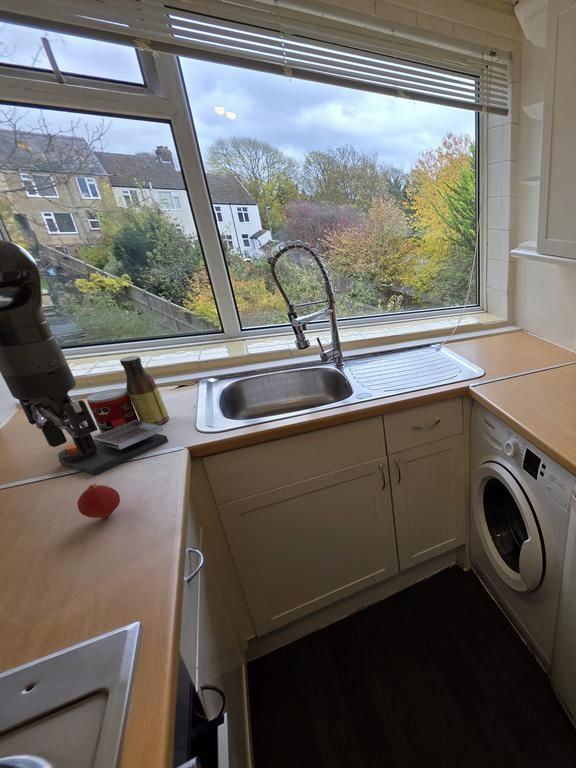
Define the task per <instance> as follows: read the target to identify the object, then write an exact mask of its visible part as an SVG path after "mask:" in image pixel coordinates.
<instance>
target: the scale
mask: <svg viewBox="0 0 576 768" xmlns="http://www.w3.org/2000/svg"><path fill="white" fill-rule="evenodd" d="M166 443H169V439H168V437H167V435H165V434H160V433H157V434H155V435H152V436H150V437H148V438H145V439H143V440H141V441H139V442H136V443H134V444H132V445H130V446H127V447H125V448H123V449H120V450H119V449H115V448H111V447H108V446H104V445H100V444H96V443H95V445H96V447H97V450H96V451H95V452H93V453H90V454H88V455H85V456H84V455H80V454H79V452H78V453H74V454H68V453H67V451H66V449H65V448H64V449H62V450H61V451H59V452H58V456H57V457H58V462H59V464H60V467H63V468H67V469H70V470H74V471H76V472H80V473H84V474H86V475H90V476H94V477H96V476H98V475H101V474H102V473H104V472H106V471H109V470H111V469H113V468H115V467H118V466H119V465H122V464H123V463H126V462H129V461H130V460H133V459H134V458H137V457H139V456H141V455H144V454H145V453H147V452H149V451H151V450H153V449H156V448H159V447H160V446H162V445H164V444H166Z"/></svg>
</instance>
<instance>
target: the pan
mask: <svg viewBox="0 0 576 768" xmlns="http://www.w3.org/2000/svg"><path fill="white" fill-rule="evenodd" d="M163 431H165V428H164V426H163V424H160V425H158V424H153V423H149V422H145V421H140V420H139V419H138V420H133V421H131V422H128V423H126V424H123V425H121V426H118V427H116V428H113V429H111V430H108V431H106V432H103V433H101V432H100V433H98V434H96V435H93V436H92V438H93V441H94V443H95V444H100V445H104V446H108V447H111V448H115V449H119V450H120V449H123V448H125V447H127V446H130V445H132V444H134V443H136V442H139V441H141V440H143V439H145V438H148V437H150V436H152V435H155V434H160V433H161V432H163Z"/></svg>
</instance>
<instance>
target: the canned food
mask: <svg viewBox="0 0 576 768" xmlns="http://www.w3.org/2000/svg"><path fill="white" fill-rule="evenodd" d="M86 402H87V404H88V407H89V409H90V411H91V413H92V414H91V415H92V417H93V419H94V421H95V422H96V423H95V424H96V426H97V428H98V429H99V431H100V434H101V433H103V432H106V431H108V430H111V429H113V428H116V427H118V426H121V425H123V424H126V423H128V422H131V421H133V420H139V417H138V415H137V413H136V410H135V408H134V406H133V404H132V401H131V399H130V397H129V395H128V392H127V390H126V388H111V389H105V390H101V391H98V392H95V393H93V394H92V393H91V394H90V395H89V396H87V397H86Z"/></svg>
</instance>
